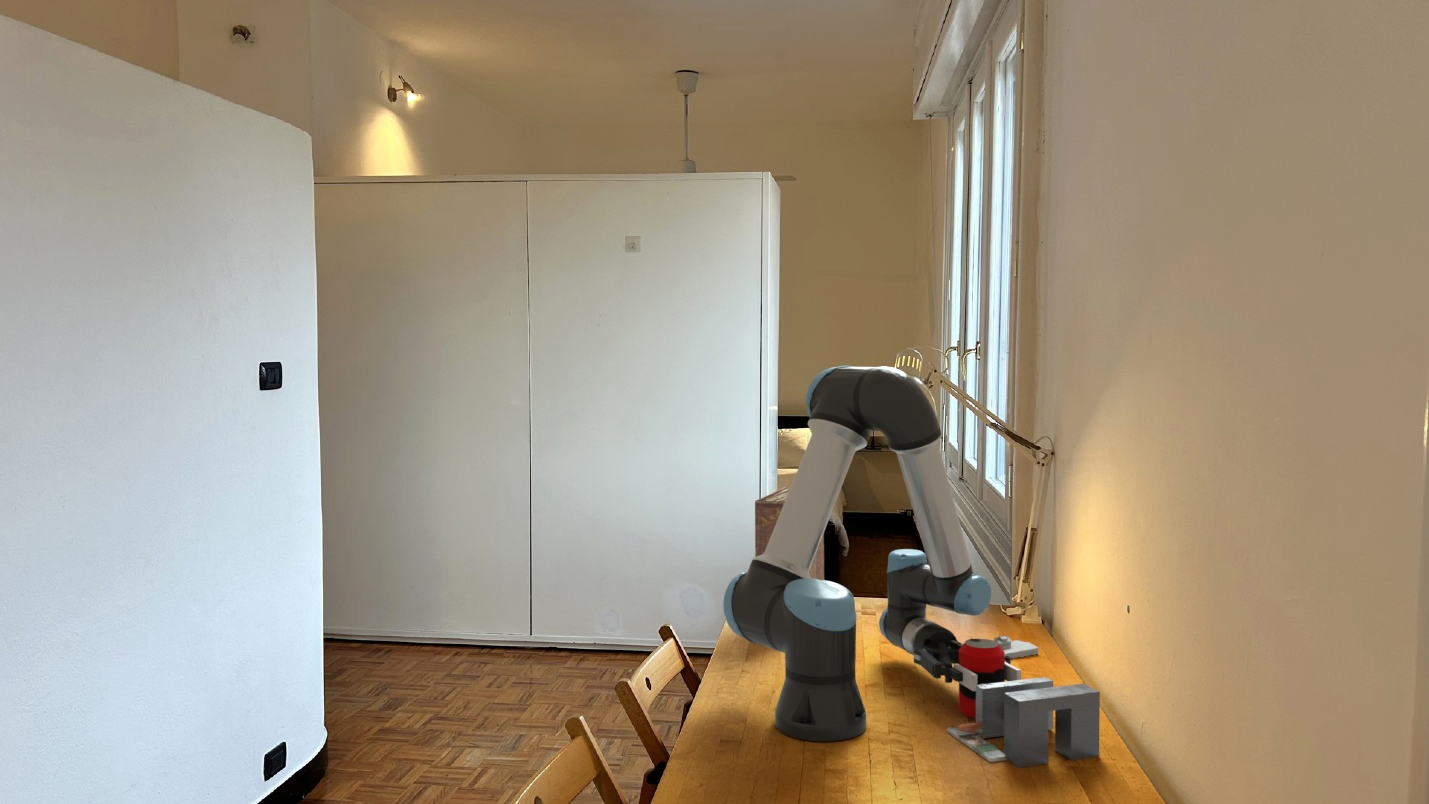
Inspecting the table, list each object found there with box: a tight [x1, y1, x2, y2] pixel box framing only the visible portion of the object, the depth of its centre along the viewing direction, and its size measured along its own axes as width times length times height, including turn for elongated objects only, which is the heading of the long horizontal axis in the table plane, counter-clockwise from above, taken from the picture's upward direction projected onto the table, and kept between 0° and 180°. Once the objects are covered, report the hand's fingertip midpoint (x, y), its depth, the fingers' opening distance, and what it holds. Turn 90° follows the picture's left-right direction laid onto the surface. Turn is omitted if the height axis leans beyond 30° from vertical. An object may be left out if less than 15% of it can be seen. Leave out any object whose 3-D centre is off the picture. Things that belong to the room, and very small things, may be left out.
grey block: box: [957, 676, 1054, 739], centre depth 161 cm, size 17×7×8 cm, turn 106°
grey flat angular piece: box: [993, 633, 1039, 659], centre depth 208 cm, size 12×11×4 cm
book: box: [754, 485, 825, 580], centre depth 230 cm, size 25×9×30 cm, turn 160°
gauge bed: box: [946, 683, 1101, 768], centre depth 159 cm, size 17×16×10 cm
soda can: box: [958, 638, 1006, 720], centre depth 173 cm, size 8×8×12 cm
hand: (997, 680), depth 168 cm, fingers closed on soda can, 7 cm apart
